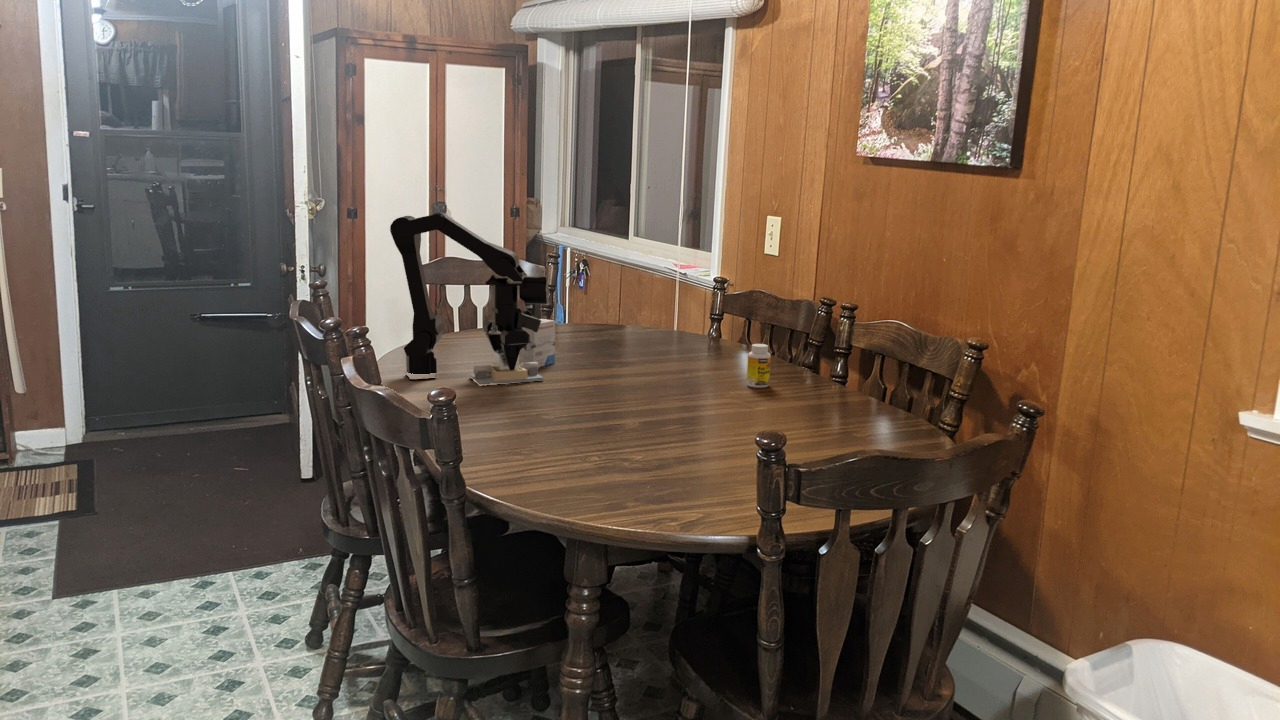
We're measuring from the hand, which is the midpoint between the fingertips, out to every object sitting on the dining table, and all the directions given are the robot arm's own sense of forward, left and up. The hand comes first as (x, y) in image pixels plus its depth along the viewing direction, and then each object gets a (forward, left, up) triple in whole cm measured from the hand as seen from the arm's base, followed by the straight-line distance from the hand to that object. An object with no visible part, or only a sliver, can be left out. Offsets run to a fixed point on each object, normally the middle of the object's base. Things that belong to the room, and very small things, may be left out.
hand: (506, 366), depth 245 cm
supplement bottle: (+56, -27, -4) cm, 62 cm away
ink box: (+13, +13, -4) cm, 19 cm away
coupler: (0, 0, -2) cm, 3 cm away
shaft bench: (0, 0, -4) cm, 4 cm away
